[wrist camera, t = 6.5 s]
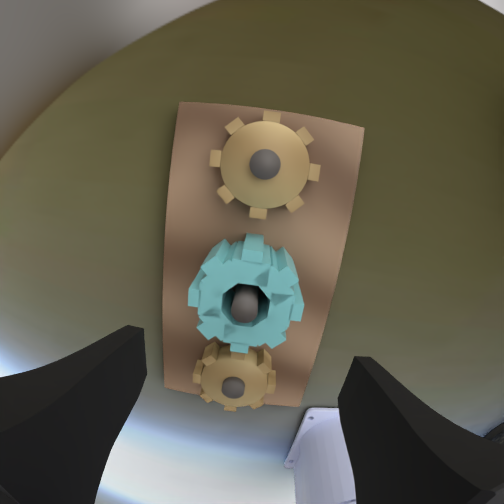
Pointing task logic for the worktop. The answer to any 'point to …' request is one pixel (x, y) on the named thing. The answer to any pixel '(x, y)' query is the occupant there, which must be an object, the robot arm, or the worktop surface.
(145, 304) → the worktop surface
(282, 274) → the teal gear
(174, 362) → the gear board
